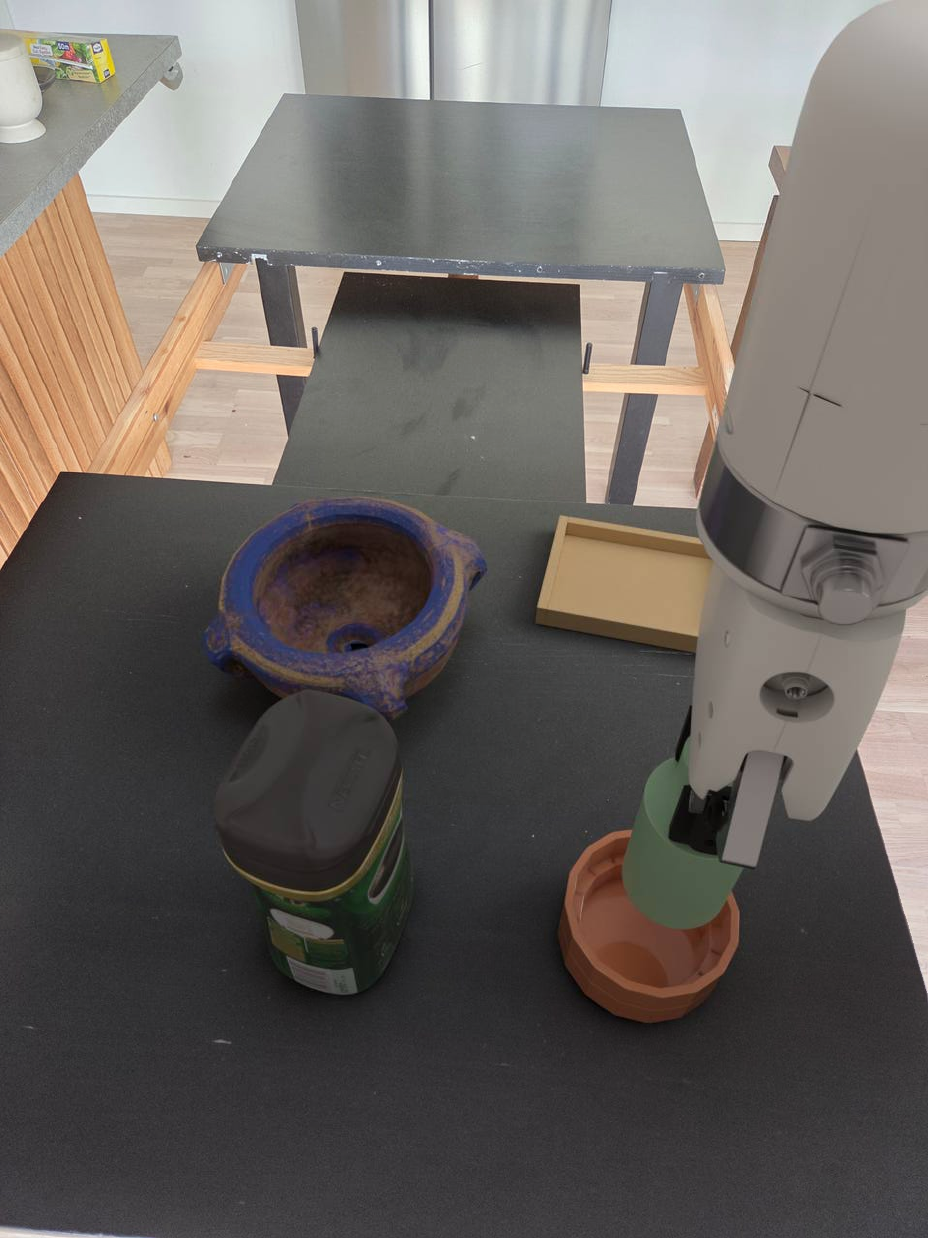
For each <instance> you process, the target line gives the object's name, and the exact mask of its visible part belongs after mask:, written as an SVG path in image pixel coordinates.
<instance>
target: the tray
mask: <svg viewBox="0 0 928 1238" xmlns="http://www.w3.org/2000/svg"><path fill="white" fill-rule="evenodd" d="M713 563H714V562H713V561H712V559H711V558H710V557H709V555H708V554H707V552H706V551H705V549H704V546H703V544H702V542H701V541H700V539H699V537H696V536H689V535H682V534H677V533H670V532H665V531H658V530H653V529H647V528H641V527H634V526H628V525H622V524H616V523H611V522H604V521H599V520H598V521H597V520H593V519H585V518H580V517H575V516H574V517H573V516H567V515H559V517H558V521H557V525H556V529H555V533H554V537H553V541H552V545H551V549H550V553H549V557H548V562H547V564H546V569H545V573H544V577H543V581H542V585H541V589H540V593H539V598H538V601H537V606H536V610H535V611H536V613H535V619H534V620H535V621H534V623H535V625H542V626H547V627H553V628H558V629H563V630H569V631H574V632H579V633H583V634H584V633H585V634H591V635H596V636H602V637H606V638H612V639H616V640H617V639H618V640H623V641H628V642H634V643H639V644H640V643H641V644H645V645H649V646H656V647H660V648H667V649H671V650H678V651H683V652H686V653H687V652H688V653H694V654H696V649H697V640H698V632H699V625H700V619H701V613H702V607H703V603H704V598H705V593H706V589H707V585H708V581H709V577H710V574H711V570H712V566H713Z"/></svg>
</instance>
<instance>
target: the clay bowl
mask: <svg viewBox="0 0 928 1238" xmlns="http://www.w3.org/2000/svg"><path fill="white" fill-rule="evenodd" d="M632 829H633V828H632ZM632 829H625V830H618V831H612V832H610V833H608V834H607V835H605V836H603V837H602V838H600V839H598V840H597V841H594V842H593V843H591V844H590V845H588V846H587V847H586V848H585V849H584V850H583V852H582V853H581V855H580V856H579V858H578V859H577V861H576V862H575V864H574V865H573V866H572V868H571V869H570V871H569V873H568V876H567V880H566V885H565V890H564V894H563V899H562V903H561V908H560V914H559V920H558V927H557V938H558V942H559V947H560V950H561V951H560V952H561V955H562V958H563V963H564V965H565V966H564V967H566V969H567V971H568V972H569V974H570V975H571V976H572V978H573V979H574V981H575V982H576V984H577V985H578V987H579V988H580V990H581V991H582V992H583V994H584V995H585V996H586V997H588V998H589V999H591V1000H592V1001H594V1002H595V1003H597V1004H598V1005H599V1006H600V1007H602V1008H603V1009H605V1010H606V1011H608V1012H609V1013H611V1014H612V1015H614V1016H617V1017H622V1018H625V1019H629V1020H633V1021H636V1022H641V1023H645V1024H652V1023H658V1022H665V1021H669V1020H670V1021H671V1020H676V1019H680V1018H682V1017H684V1016H685V1015H687V1014H688V1013H690V1012H691V1011H692V1010H694V1009H695V1008H697V1007H698V1006H699V1005H701V1004H702V1003H703V1002H705V1001H706V1000H707V999H708V997H709V996H710V995H711V993H712V992H713V990H714V989H715V987H716V986H717V984H718V983H719V981H720V980H721V978H722V977H723V975H724V974H725V972H726V970H727V969H728V966H729V964H730V963H731V960H732V958H733V957H734V954H735V953H736V951H737V948H739V943H740V909H739V907H738V904H737V901H736V898H735V896H734V894H733V890H732V891H731V892H730V894H729V896H728V898H727V900H726V902H725V904H724V905H723V907H722V909H721V910H720V912H719V913H718V914H717V916H716V917H715V918H713V919H712V920H711V921H710V922H708V923H706V924H704V925H702V926H699V927H696V928H692V929H674V928H669V927H665V926H662V925H660V924H658V923H655V922H654V921H652V920H650V919H649V918H647V917H646V916H645V915H643V914H642V913H641V912H640V911H639V910H638V909H637V908H636V907H635V906H634V904H633V903H632V901H631V900H630V899H629V897H628V895H627V893H626V890H625V888H624V884H623V880H622V865H623V860H624V856H625V853H626V850H627V846H628V843H629V840H630V836H631V833H632Z"/></svg>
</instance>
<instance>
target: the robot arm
mask: <svg viewBox="0 0 928 1238" xmlns="http://www.w3.org/2000/svg"><path fill="white" fill-rule="evenodd" d="M743 328H744V329H743V332H742V337H741V340H740V343H739V344H740V345H739V348H738V352H737V355H736V360H735V363H734V367H733V371H732V376H731V378H730V381H729V382H730V383H729V387H728V391H727V393H726V398H725V402H724V406H723V410H722V414H721V418H720V421H719V423H718V424H717V425H718V426H717V429H716V434H715V437H714V441H713V444H712V449H711V452H710V455H709V461H708V464H707V467H706V472H705V475H704V479H703V483H702V487H701V490H700V496H699V500H698V503H697V507H696V511H695V527H696V530H697V535H698V538H699V539H700V541H701V542H702V544H703V546H704V549H705V551H706V552H707V554H708V555H709V557H710V558H711V559H712V561H713V562H714V563H713V566H712V570H711V574H710V577H709V581H708V585H707V589H706V593H705V598H704V603H703V607H702V613H701V619H700V625H699V632H698V640H697V649H696V653H695V658H694V659H695V661H694V671H693V672H694V673H693V685H692V701H691V702H692V703H691V704H689V707H688V711H687V714H686V717H685V719H684V722H683V724H682V729H681V732H680V735H679V738H678V741H677V744H676V747H675V754H674V757H675V760H676V761H677V762H678V763H679V760H680V757H681V754H682V751H683V748H684V745H685V742H686V740H687V739H688V737H689V736H690V735H691V737H690V753H689V785H684V787H683V789H682V792H681V795H680V798H679V801H678V803H677V806H676V809H675V812H674V814H673V817H672V820H671V823H670V825H669V834H668V838H669V839H670V840H671V841H673V842H677V843H682V844H687V845H690V847H691V848H692V849H693V850H695V851H697V852H700V853H705V854H709V855H718V860H719V862H720V863H725V864H729V865H734V866H739V867H744V868H743V869H749V870H755V869H756V868H757V866H758V865H757V864H758V861H759V858H760V854H761V850H762V845H763V842H764V838H765V835H766V830H767V826H768V823H769V819H770V815H771V812H772V807H773V804H774V800H775V796H776V792H777V788H778V785H779V781H782V782H781V784H780V791H781V795H782V799H783V803H784V807H785V812H786V814H787V818H788V819H792V820H798V821H799V820H800V821H806V822H807V821H808V822H811V821H813V820H815V819H817V818H818V817H819V816H820V815H821V814H822V813H823V812H824V811H825V809H826V808H827V806H828V804H829V802H830V801H831V799H832V798H833V795H834V794H835V792H836V790H837V788H838V787H839V785H840V783H841V781H842V779H843V777H844V775H845V773H846V771H847V770H848V768H849V765H850V763H851V762H852V760H853V757H854V756H855V753H856V752H857V750H858V747H859V745H860V744H861V742H862V739H863V738H864V735H865V733H866V731H867V729H868V727H869V724H870V722H871V721H872V718H873V717H874V716H873V715H874V714H875V711H876V709H877V706H878V704H879V702H880V700H881V697H882V694H883V692H884V689H885V687H886V684H887V682H888V679H889V676H890V673H891V671H892V668H893V665H894V662H895V659H896V656H897V652H898V651H899V650H898V649H899V647H900V642H901V639H902V636H903V633H904V629H905V625H906V615H907V610H908V609H910V608H912V607H915V606H916V605H917V604H919V603H921V601H923V600H924V599H925V598H926V597H928V0H888V1H885V2H882V3H878V4H876V5H874V6H873V7H871V8H870V9H868V10H866V11H865V12H863V13H862V14H860V15H859V16H857V17H856V18H854V19H852V20H851V21H849V22H848V23H847V24H846V25H845V26H844V27H843V28H842V29H841V31H840V32H839V33H838V34H837V35H836V36H835V37H834V38H833V40H832V41H831V43H830V44H829V45H828V47H827V48H826V50H825V52H824V53H823V55H822V56H821V58H820V59H819V61H818V62H817V65H816V68H815V70H814V71H813V73H812V76H811V77H810V81H809V84H808V87H807V91H806V93H805V97H804V100H803V103H802V106H801V110H800V113H799V116H798V119H797V124H796V128H795V131H794V135H793V139H792V143H791V147H790V150H789V155H788V158H787V163H786V166H785V171H784V174H783V177H782V182H781V186H780V189H779V193H778V197H777V201H776V205H775V208H774V213H773V216H772V220H771V225H770V228H769V232H768V236H767V240H766V244H765V248H764V251H763V255H762V259H761V264H760V266H759V271H758V275H757V278H756V282H755V286H754V290H753V294H752V297H751V301H750V306H749V309H748V312H747V316H746V321H745V325H744V327H743ZM731 782H733V786H732V787H730V786H727V785H728V784H730V783H731Z"/></svg>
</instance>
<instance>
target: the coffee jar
mask: <svg viewBox="0 0 928 1238" xmlns="http://www.w3.org/2000/svg"><path fill="white" fill-rule="evenodd" d="M403 767H404V766H403V759H402V754H401V749H400V746H399V742H398V739H397V736H396V734H395V731H394V730H393V727H392V726H391V725H390V723H389V721H388V722H387V721H386V719H385V718H384V717H383V716H382V715H381V714H380V713H379V712H377V711H376V710H375V709H374V708H372V707H370V706H368V705H365V704H363V703H360V702H357V701H354V700H352V699H349V698H345V697H341V696H338V695H334V694H330V693H325V692H320V691H316V690H309V689H305V690H302V691H301V692H298V693H295V694H292V695H290V696H287V697H285V698H284V699H282V698H281V700H279V701H276V703H274V704H273V705H272V706H270V707H269V708H268V709H267V710H266V711H265V712H264V713H263V714H262V715H261V716H260V718H259V719H258V720H257V722H256V723H255V725H254V726H253V727H252V729H251V731H249V734H248V735H247V737H246V738H245V740H244V741H243V743H242V744H241V746H240V748H239V749H238V751H237V752H236V754H235V756H234V758H233V760H232V761H231V763H230V765H229V767H228V768H227V770H226V773H225V775H224V776H223V778H222V780H221V782H220V783H219V786H218V788H217V790H216V792H215V797H214V800H213V809H212V810H213V819H214V824H215V829H216V830H217V832H218V835H219V839H220V843H221V846H222V851H223V854H224V856H225V857H226V859H227V861H228V862H229V863H230V865H231V866H232V867H233V868H234V870H235V871H236V872H237V873H239V875H240V876H242V877H243V878H245V879H246V880H247V881H249V882H250V884H251V887H252V888H253V893H254V896H255V899H256V904H257V907H258V913H259V917H260V921H261V925H262V929H263V930H262V931H263V933H264V936H265V940H266V945H267V948H268V951H269V953H270V956H271V958H272V961H273V963H274V964H275V966H276V967H277V968H278V970H279V971H280V972H281V973H282V974H284V975H285V976H286V977H288V978H290V979H291V980H293V981H294V982H297V983H299V984H301V985H302V986H305V987H308V988H309V989H312V990H316V991H319V992H323V993H326V994H332V995H339V996H349V995H354V994H358V993H361V992H363V991H365V990H366V989H368V988H370V987H371V986H372V985H374V984H375V983H376V982H377V981H378V980H379V979H380V977H381V976H382V975H383V973H384V972H385V970H386V968H387V966H388V965H389V963H390V961H391V959H392V956H393V955H394V953H395V950H396V949H397V946H398V943H399V942H400V939H401V936H402V934H403V931H404V929H405V926H406V923H407V921H408V917H409V914H410V911H411V908H412V907H411V906H412V903H413V899H414V894H415V889H416V887H415V886H416V881H415V872H414V866H413V862H412V857H411V853H410V851H409V846H408V840H407V835H406V830H405V825H404V824H405V823H404V819H403V818H404V817H403V807H402V806H403V805H402V803H403V802H402V801H403V798H402V797H403V779H404V778H403V775H404V773H403V771H404V770H403Z"/></svg>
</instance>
